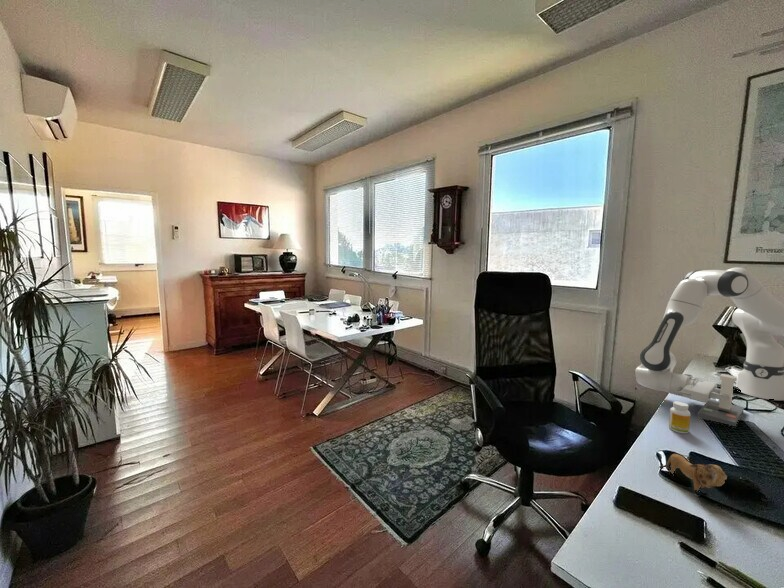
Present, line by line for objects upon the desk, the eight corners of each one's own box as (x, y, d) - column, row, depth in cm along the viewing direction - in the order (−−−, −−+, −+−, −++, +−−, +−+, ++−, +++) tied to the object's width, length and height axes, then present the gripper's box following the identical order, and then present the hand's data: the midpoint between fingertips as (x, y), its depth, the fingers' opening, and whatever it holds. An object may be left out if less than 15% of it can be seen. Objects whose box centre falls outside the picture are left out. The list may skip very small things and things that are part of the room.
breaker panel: (708, 403, 138) (709, 398, 138) (743, 412, 130) (743, 407, 130) (697, 417, 126) (698, 411, 126) (735, 427, 118) (735, 422, 118)
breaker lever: (718, 406, 130) (721, 373, 128) (732, 410, 127) (736, 376, 125) (716, 408, 128) (720, 375, 126) (731, 412, 125) (735, 378, 123)
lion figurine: (728, 502, 82) (732, 468, 81) (714, 507, 80) (718, 472, 79) (664, 467, 96) (667, 437, 95) (651, 470, 94) (654, 440, 93)
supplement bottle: (692, 434, 114) (695, 407, 113) (674, 433, 115) (677, 406, 114) (682, 426, 119) (684, 401, 118) (665, 425, 120) (667, 399, 119)
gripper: (676, 383, 130) (725, 395, 119) (688, 373, 143) (734, 382, 132) (674, 399, 131) (723, 411, 120) (687, 387, 143) (732, 397, 132)
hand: (729, 396), depth 126 cm, fingers closed on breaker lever, 3 cm apart
